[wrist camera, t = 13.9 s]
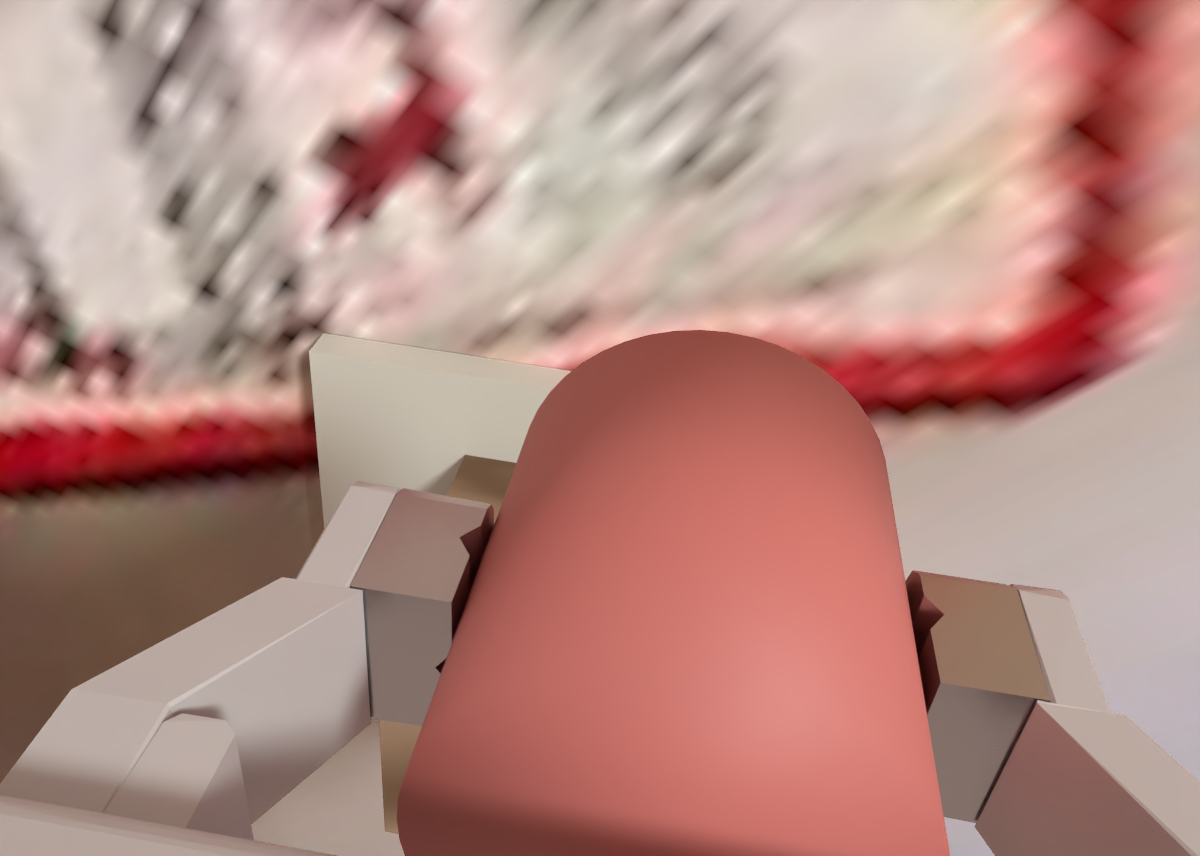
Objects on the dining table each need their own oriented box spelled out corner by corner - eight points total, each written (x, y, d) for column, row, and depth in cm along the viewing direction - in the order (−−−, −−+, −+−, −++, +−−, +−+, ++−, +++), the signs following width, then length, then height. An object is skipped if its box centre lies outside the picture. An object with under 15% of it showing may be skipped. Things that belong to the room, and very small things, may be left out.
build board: (343, 604, 39) (332, 627, 38) (323, 333, 32) (308, 351, 31) (756, 675, 38) (756, 700, 37) (824, 409, 31) (826, 431, 30)
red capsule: (514, 594, 14) (404, 961, 9) (529, 304, 11) (386, 628, 7) (842, 647, 13) (876, 1049, 9) (930, 360, 11) (1031, 733, 7)
